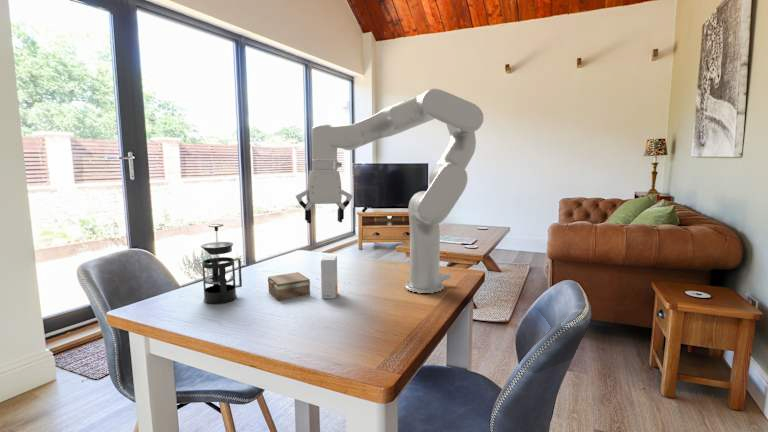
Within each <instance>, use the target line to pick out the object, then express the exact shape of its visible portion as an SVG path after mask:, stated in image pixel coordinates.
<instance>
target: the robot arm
mask: <svg viewBox="0 0 768 432" xmlns="http://www.w3.org/2000/svg"><path fill="white" fill-rule="evenodd" d="M433 120H437V121H439V122H441V123H444V124H445V125H446V127H447V130H448V133H449V142H448V143H447V144H448V145H447V146H446V148H445V150H444V151H443V153H442V154H441V156H440V158H439V159H438V161H437V163H436V164H435V165H434V166H433V167H432V169H431V171H430V173H429V177H428V180H429V181H428V183H429V184H430V185H429V187H428V188H427V190H422V191H418V192H416V193H414V194H413V195H412V197H411V198H410V200H409V202H408V208H407V209H408V218H409V219H408V221H409V222H408V223H409V281H408V282H405V285H404V286H405V287H404V288H405V289H406V291H408V290H409V291H408V292H410V291H412V292H411V293H414V292H417V293H416V294H421V293H431V294H435V293H434V292H437V293H439V292H438V291H440V292H442V291H443V290H445V284H444V283H443V282H444V281H447V280H448V281H449V280H451V278H452V276H451V273H444V274H443V273H440V255H441V254H440V253H441V251H440V248H441V245H440V244H441V243H440V242H441V239H440V238H441V235H440V234H441V233H440V232H441V230H440V228H441V227H440V224H441V223H442V222H443V221H444V220H446V218H448V216H449V214H450V213H451V211H452V210H453V208H454V207H455V205H456V204H457V202H458V201H459V199H460V197H461V196H462V195H463V193H464V191H465V190H466V187H467V184H468V173H467V171H466V169H467V167H468V166H469V165H468V164H469V163H470V161H471V160H472V158H473V156H474V154H475V151H476V148H477V146H476V145H477V143H476V142H477V141H476V140H477V139H476V133H475V132H477V131H478V130H479V129H480V128H481V127H482V126H483V122H484V114H483V111H482V109H481V108H480V107H479V106H478V104H475V103H473V102H470V101H469V100H468V99H467V100H466V99H464V98H462V97H460V96H458V95H456V94H455V95H454V94H453V93H450V92H447V91H445V90H442V89H440V88H430V89H428V90H426V91H424V92H423V93H420V94H418V95H415V96H413V97H411V98H407V99H405V100H403V101H400V102H397V103H395V104H393V105H390V106H387V107H385V108H383V109H381V110H380V111H378V112H377V113H375V114H373V115H371V116H370V117H367V118H365V119H362V120H360V121H357V122H355V123H352V124H351V123H349V124H348V123H347V124H338V125H333V124H315V125H314V126H312V128H311V170H309V171H308V175H307V176H308V177H307V186H306V187H307V188H306V190H304V191H302V192H300V193H298V194H296V195H295V199H296V200H297V202H298V205H300V207H302V208H303V209H304V220H305V221H306V223H307V224H311V223H312V210H311V207H312V206H313V205H321V204H324V205H325V204H326V205H330V204H332V205H333V204H336V205H337V206H338V208H337V222H339V223H343V220H344V217H345V212H344V211H345V209H346V208H347V206H349V204H350V202H351V200H352V198H353V194H351V193H349V192H347V191H344V190H343V189H342V182H341V181H342V179H341V176H340V175H341V174H340V173H341V172H340V171H339V169H338V168H342V162H339V161H338V149H342V150H344V151H354V150H356V149H358V148H360V147H363V146H366V145H368V144H370V143H373V142H376V141H378V140H380V139H384V138H388V137H392V136H395V135H398V134H401V133H402V132H406V131H408V130H410V129H413V128H415V127H418V126H421V125H423V124H425V123H428V122H431V121H433ZM305 196H306V200H307V202H306V203H305V202H304V201H303V197H305ZM343 196H344V197H345V200H344V201H343V202H342V197H343ZM442 289H443V290H442ZM441 290H442V291H441Z"/></svg>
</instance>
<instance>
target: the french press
mask: <svg viewBox="0 0 768 432" xmlns="http://www.w3.org/2000/svg"><path fill="white" fill-rule="evenodd" d="M208 227H209V228H214V231H215V239H216V242H215V241H214V242H207V243H203V244H202V245H200V247H201V248H202V249H203V250H204V251H205V252H206V253H208V254H209V255H214V256H216V255H217V257H212V258H206V259H204V260H202V262H201V266H202V280H203V302H204V303H205V304H208V305H221V304H228V303H231V302H233V301H235V300H236V299H237V298H238V295H237V289H236V288H242V285H243V284H242V282H243V280H242V279H243V278H242V265H241V263H242V261H241V258H238V257H237V258H236V257H235V258H233V257H227V256H226V257H222V256H221V257H219V255H225V254H228V253H229V254H230V253H231V252H232V251H233V245H234V243H233V242H230V241H218V240H219V239H218V232H219V228H220V227H224V224H220V223H213V224H210V225H208ZM236 261H237V263H238V265H237V267H238V282H239V284H236V272H235V270H236V269H235V262H236ZM222 262H223V263H222ZM229 267H231V268H232V269H231V270H232V275H228V274H227V272H226V268H229ZM205 269H212V271H211V272H212V276H208V277H206V276H205ZM231 282H232V284H228V283H231ZM206 284H207V285H211V286H207V287H206Z"/></svg>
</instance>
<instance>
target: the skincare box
mask: <svg viewBox="0 0 768 432" xmlns="http://www.w3.org/2000/svg"><path fill="white" fill-rule="evenodd" d="M320 271H321V272H320V277H321V278H320V279H321V299H336V296H337V294H338V256H337V255H324V256H323V257H322V259H321V260H320Z"/></svg>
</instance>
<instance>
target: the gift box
mask: <svg viewBox="0 0 768 432" xmlns="http://www.w3.org/2000/svg"><path fill="white" fill-rule="evenodd" d="M267 282H268V292H269V294H271V296H273V297H274V298H275V299H276V300H277V301H284V300H289V299H294V298H300V297H306V296H310V295H311V290H310V289H311V288H310V287H311V281H310V278H308V277H307V276H305V275H303V274H302V273H300V272H298V271H297V272H291V273H284V274H278V275H271V276H268V277H267Z"/></svg>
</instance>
